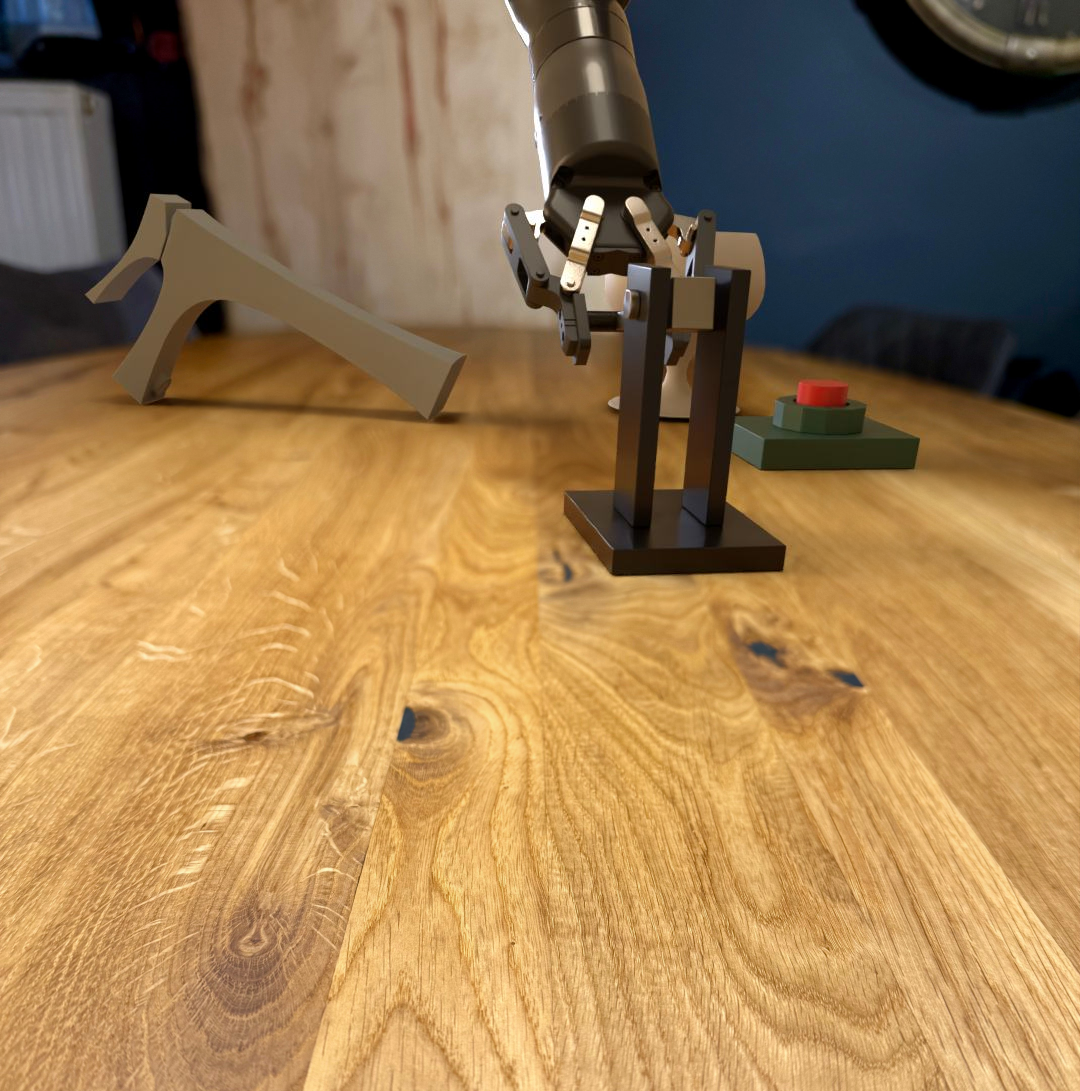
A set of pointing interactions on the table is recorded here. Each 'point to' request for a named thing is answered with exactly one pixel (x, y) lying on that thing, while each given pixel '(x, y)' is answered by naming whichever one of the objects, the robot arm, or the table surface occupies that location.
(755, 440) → the button box
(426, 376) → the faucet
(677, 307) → the lever
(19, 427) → the table surface
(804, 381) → the button
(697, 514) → the bracket
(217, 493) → the table surface
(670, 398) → the chalice
